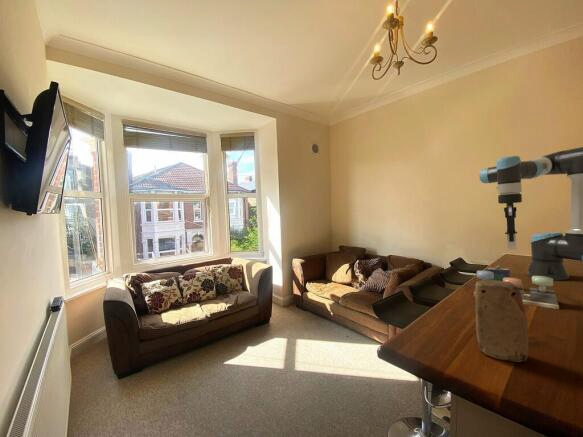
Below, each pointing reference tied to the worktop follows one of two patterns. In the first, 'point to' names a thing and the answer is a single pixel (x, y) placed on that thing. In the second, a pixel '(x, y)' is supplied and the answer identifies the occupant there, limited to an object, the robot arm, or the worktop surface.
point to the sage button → (542, 282)
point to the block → (501, 321)
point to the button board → (527, 301)
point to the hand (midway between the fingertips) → (511, 248)
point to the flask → (499, 273)
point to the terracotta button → (514, 281)
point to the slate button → (485, 275)
